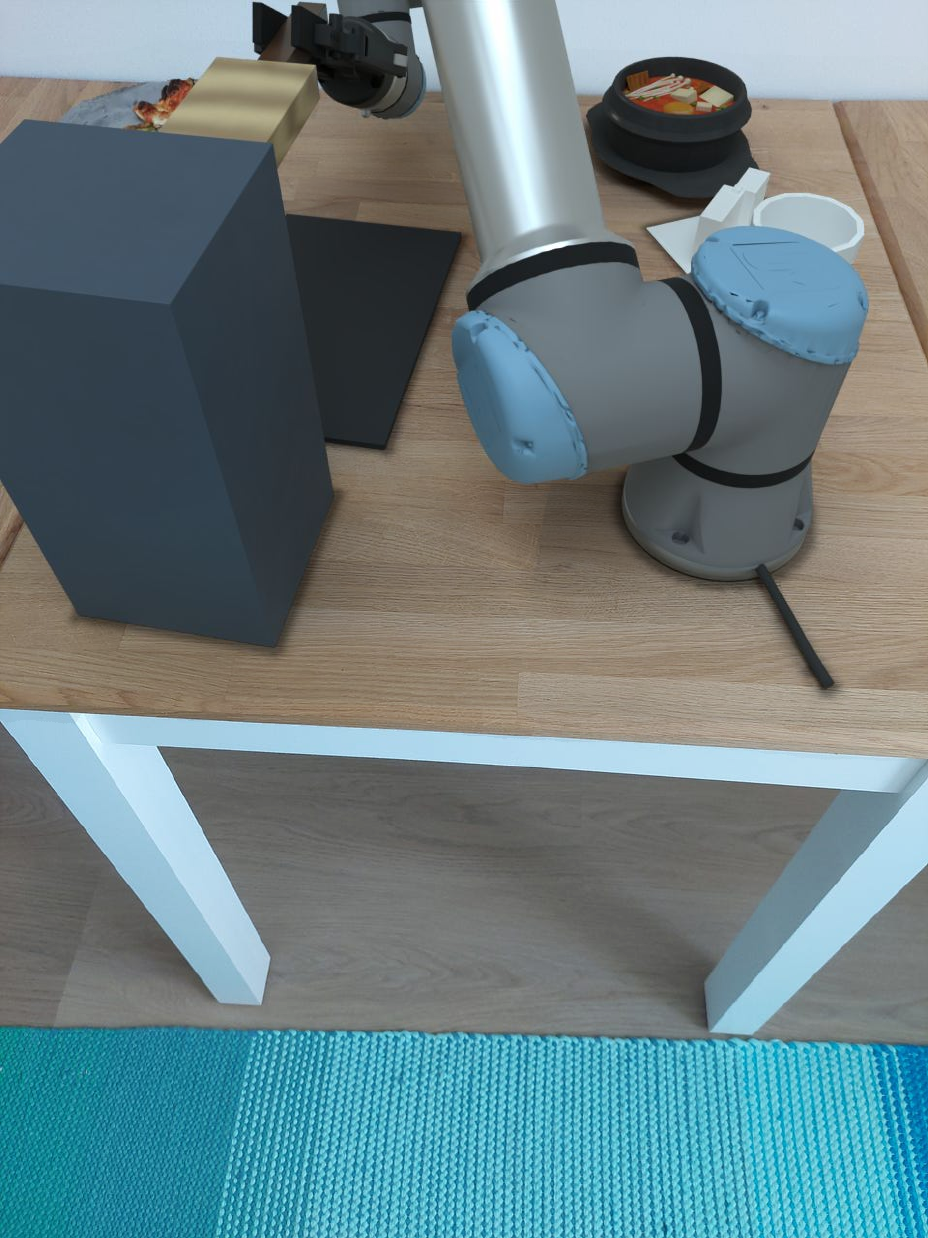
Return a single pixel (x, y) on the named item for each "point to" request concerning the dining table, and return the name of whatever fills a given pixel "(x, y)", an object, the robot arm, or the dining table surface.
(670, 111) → the casserole
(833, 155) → the dining table surface
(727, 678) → the dining table surface
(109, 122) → the food plate
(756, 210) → the foam cup
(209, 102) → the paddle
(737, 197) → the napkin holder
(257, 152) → the pedestal
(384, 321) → the mat
